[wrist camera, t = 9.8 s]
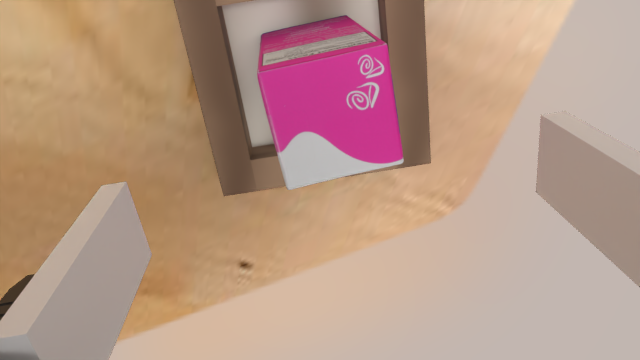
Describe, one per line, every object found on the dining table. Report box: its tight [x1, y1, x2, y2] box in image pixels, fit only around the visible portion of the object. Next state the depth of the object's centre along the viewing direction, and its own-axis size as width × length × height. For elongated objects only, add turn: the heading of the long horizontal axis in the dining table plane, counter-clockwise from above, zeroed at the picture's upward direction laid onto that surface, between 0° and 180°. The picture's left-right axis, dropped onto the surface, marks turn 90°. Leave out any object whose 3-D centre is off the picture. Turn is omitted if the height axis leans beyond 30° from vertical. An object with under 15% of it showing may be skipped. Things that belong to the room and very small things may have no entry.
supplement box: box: [257, 15, 404, 190], centre depth 26 cm, size 6×6×12 cm
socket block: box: [174, 0, 431, 196], centre depth 31 cm, size 14×14×3 cm
